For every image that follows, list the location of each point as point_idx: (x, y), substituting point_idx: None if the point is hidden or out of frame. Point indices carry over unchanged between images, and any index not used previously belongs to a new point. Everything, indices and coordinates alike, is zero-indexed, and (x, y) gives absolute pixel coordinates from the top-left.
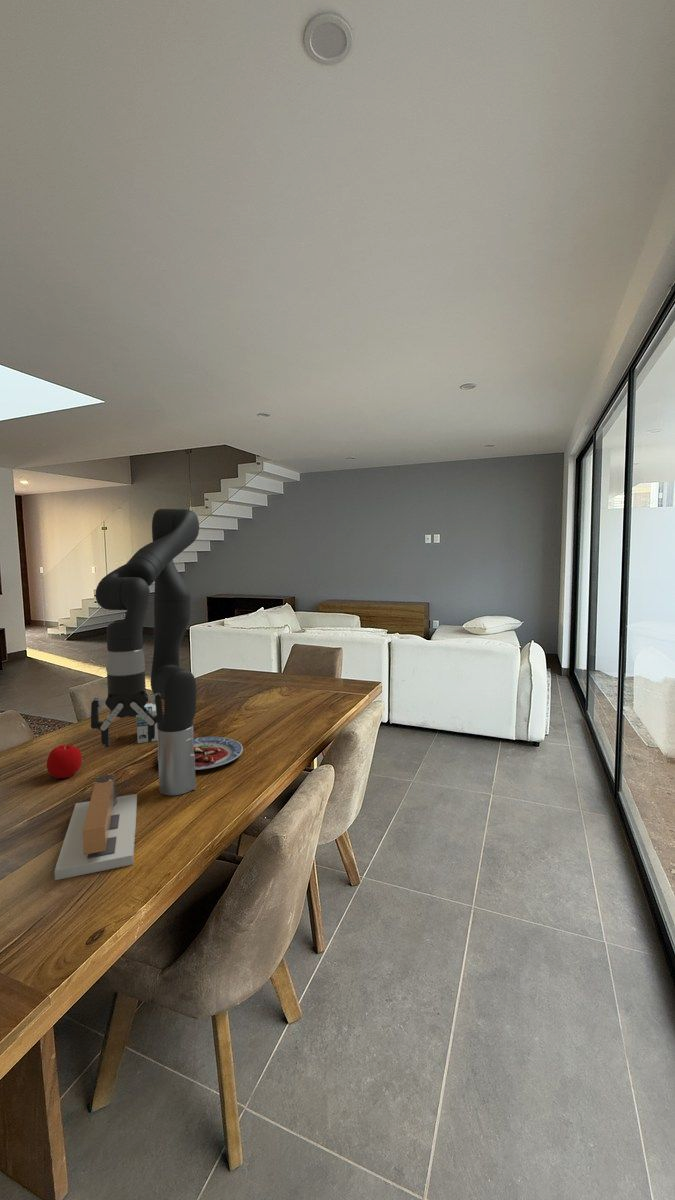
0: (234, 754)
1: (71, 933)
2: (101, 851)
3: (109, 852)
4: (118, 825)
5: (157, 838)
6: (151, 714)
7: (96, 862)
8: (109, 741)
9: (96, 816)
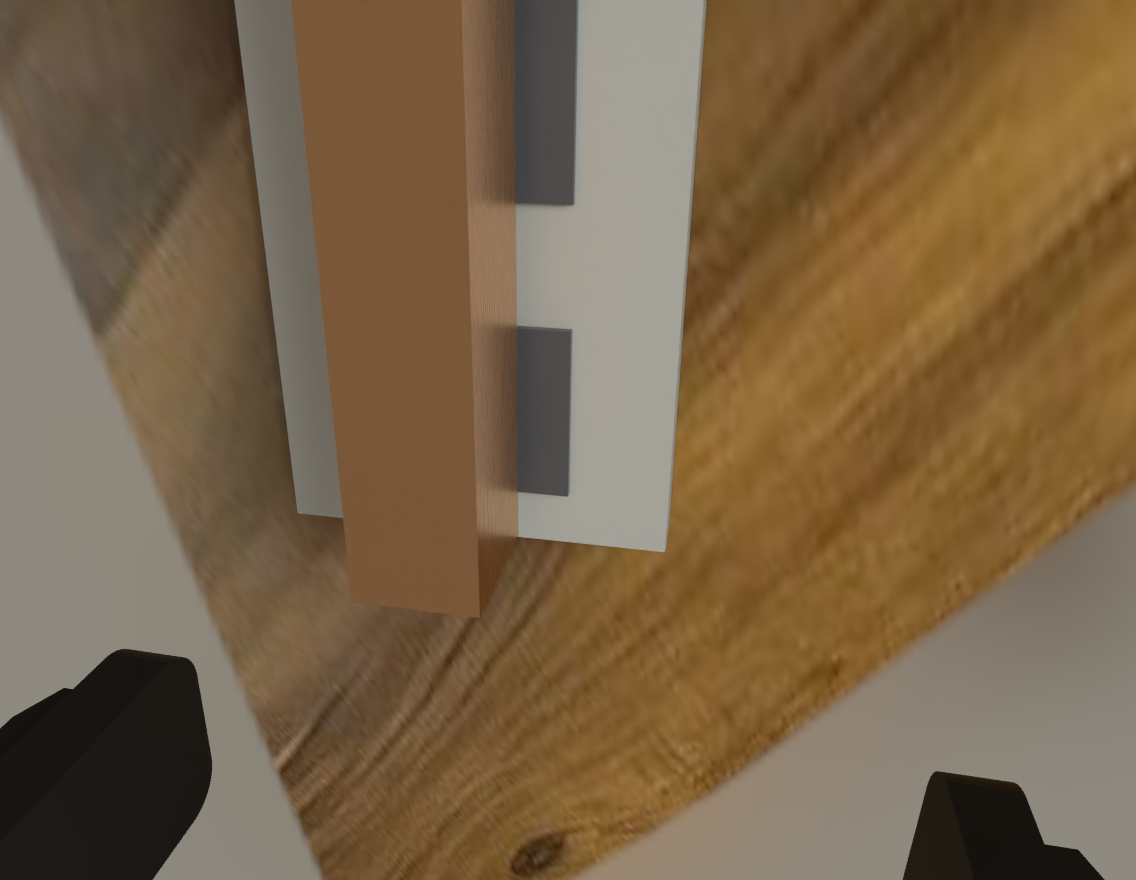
0: None
1: (457, 809)
2: None
3: (541, 489)
4: (576, 162)
5: (828, 320)
6: None
7: None
8: (160, 699)
9: (405, 456)
